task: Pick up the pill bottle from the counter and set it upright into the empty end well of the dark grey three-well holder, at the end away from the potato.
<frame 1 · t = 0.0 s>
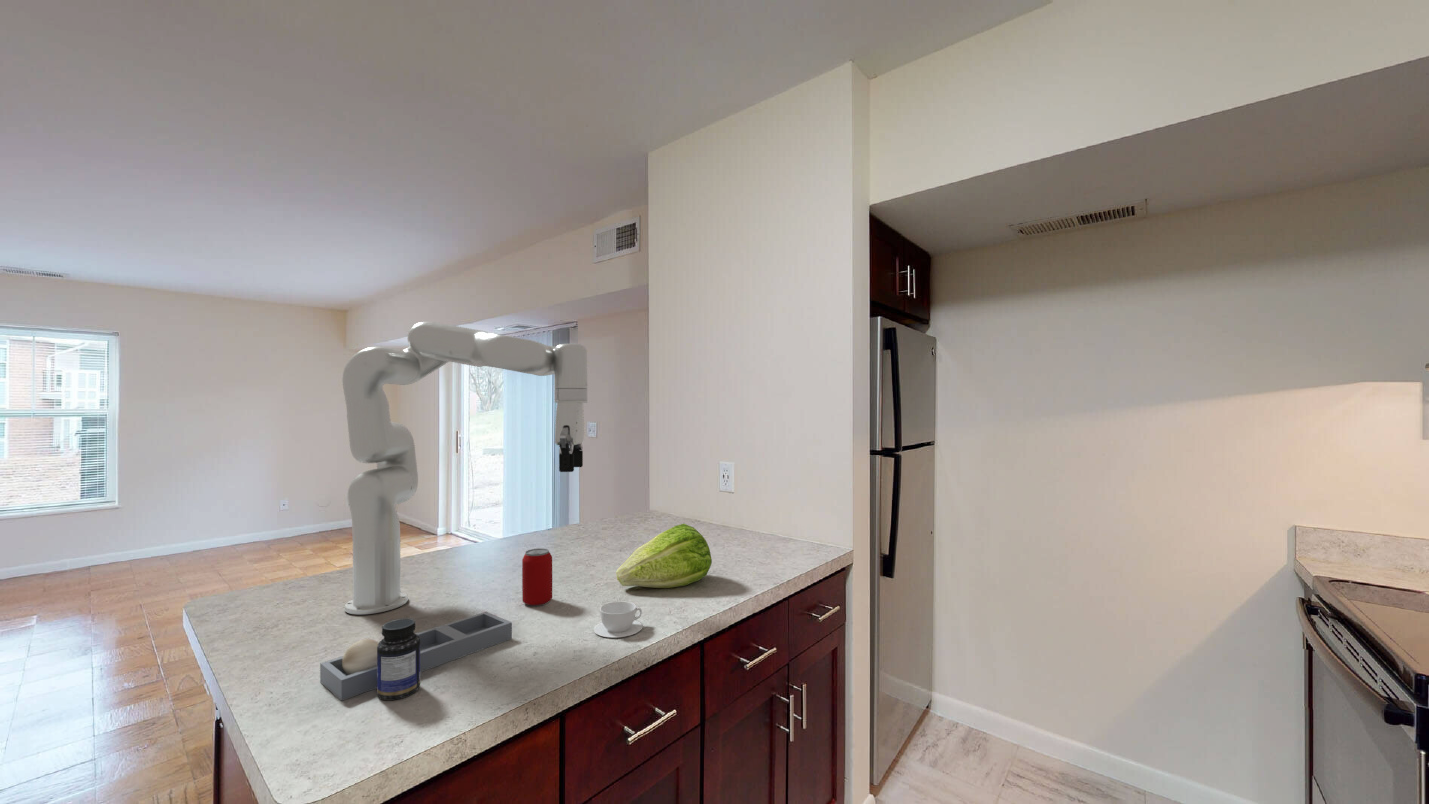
hand: (571, 469, 132), 31 cm above the worktop, fingers open, 9 cm apart
lettuce: (663, 584, 145), on the worktop
beverage can: (537, 603, 132), on the worktop
pill bottle: (399, 692, 91), on the worktop
well holder: (424, 658, 102), on the worktop
potato: (363, 658, 95), point 4 cm above the worktop, touching well holder
teacup: (618, 630, 116), on the worktop
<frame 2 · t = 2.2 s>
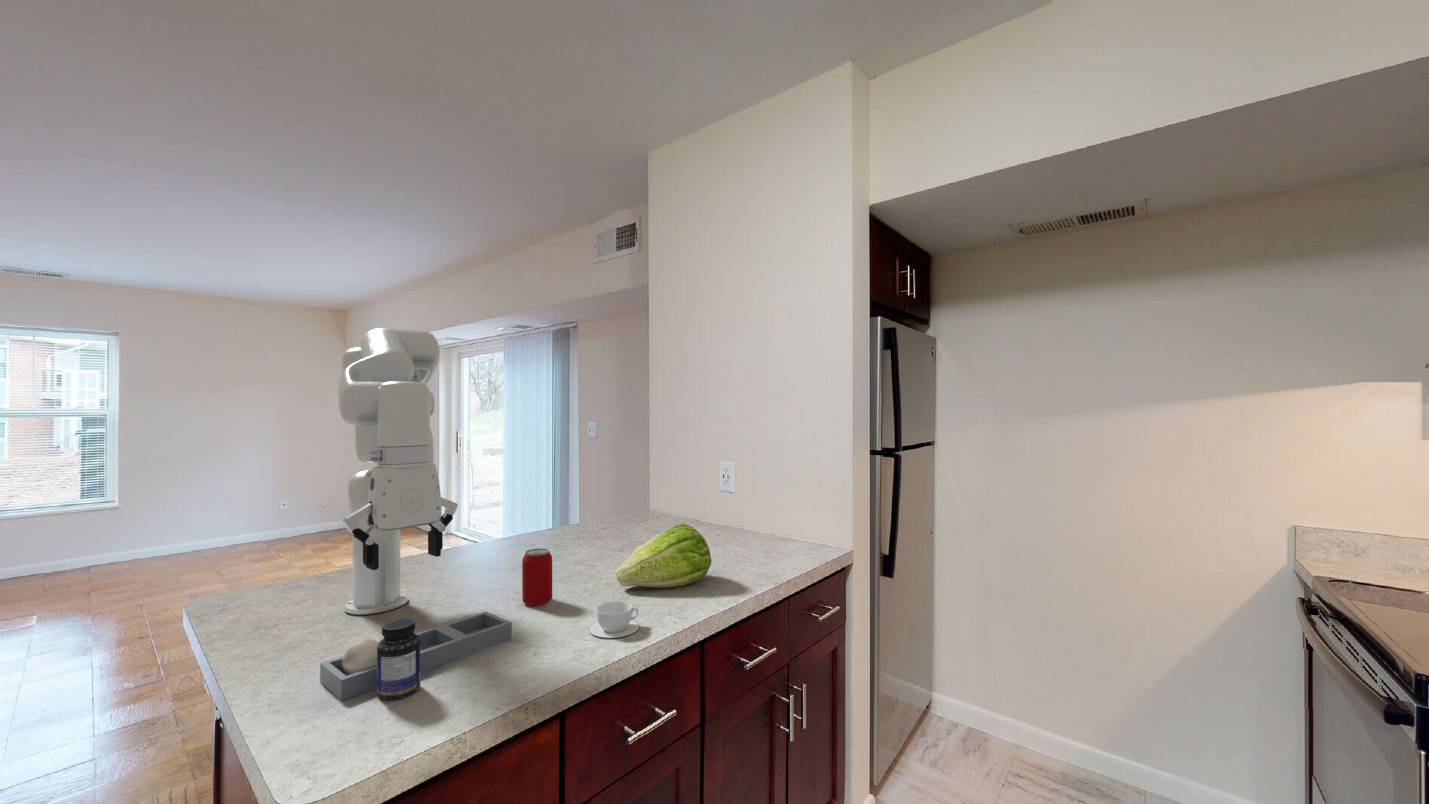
hand: (404, 561, 91), 21 cm above the worktop, fingers open, 9 cm apart
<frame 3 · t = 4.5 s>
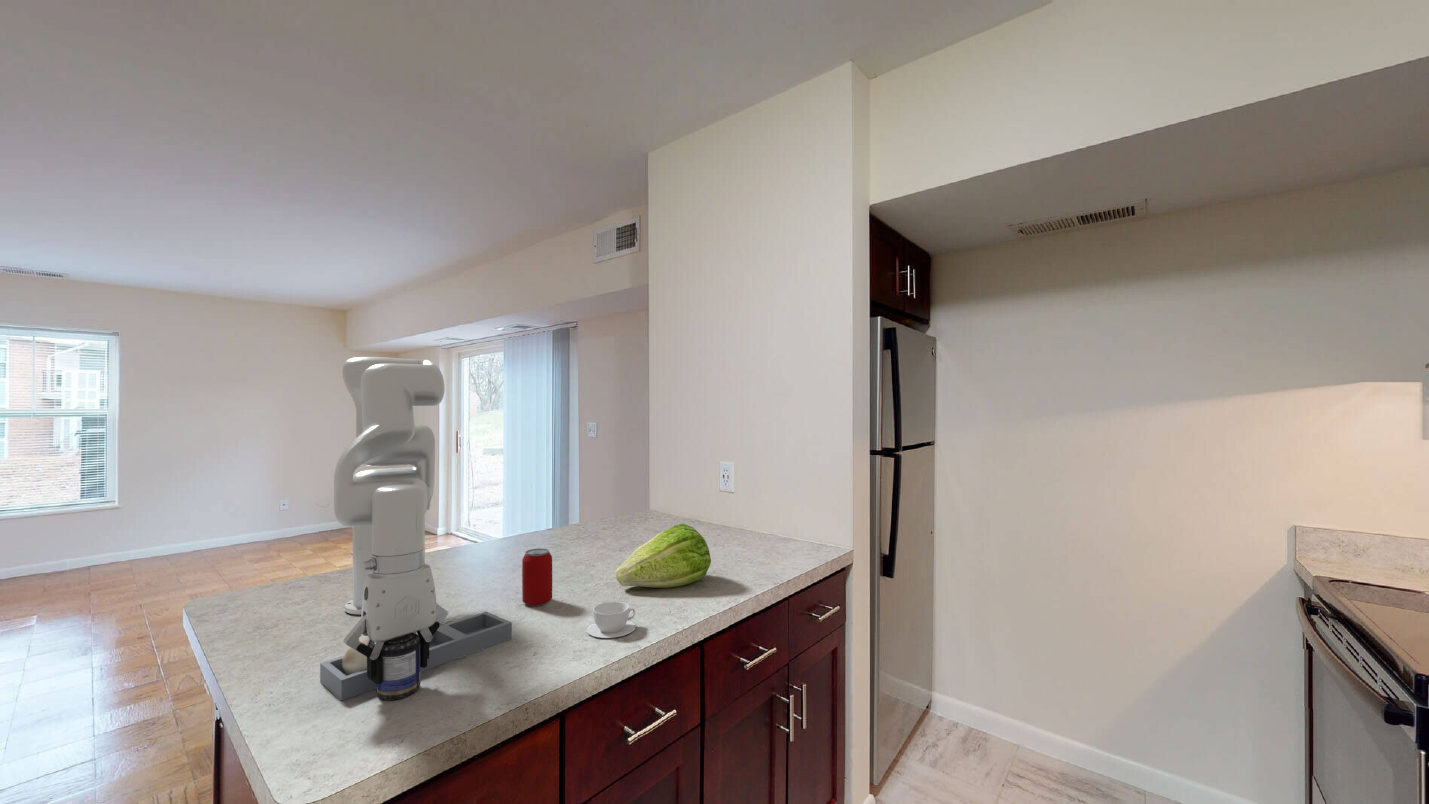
hand: (399, 672, 91), 3 cm above the worktop, fingers closed on pill bottle, 6 cm apart
pill bottle: (399, 692, 91), on the worktop, touching gripper
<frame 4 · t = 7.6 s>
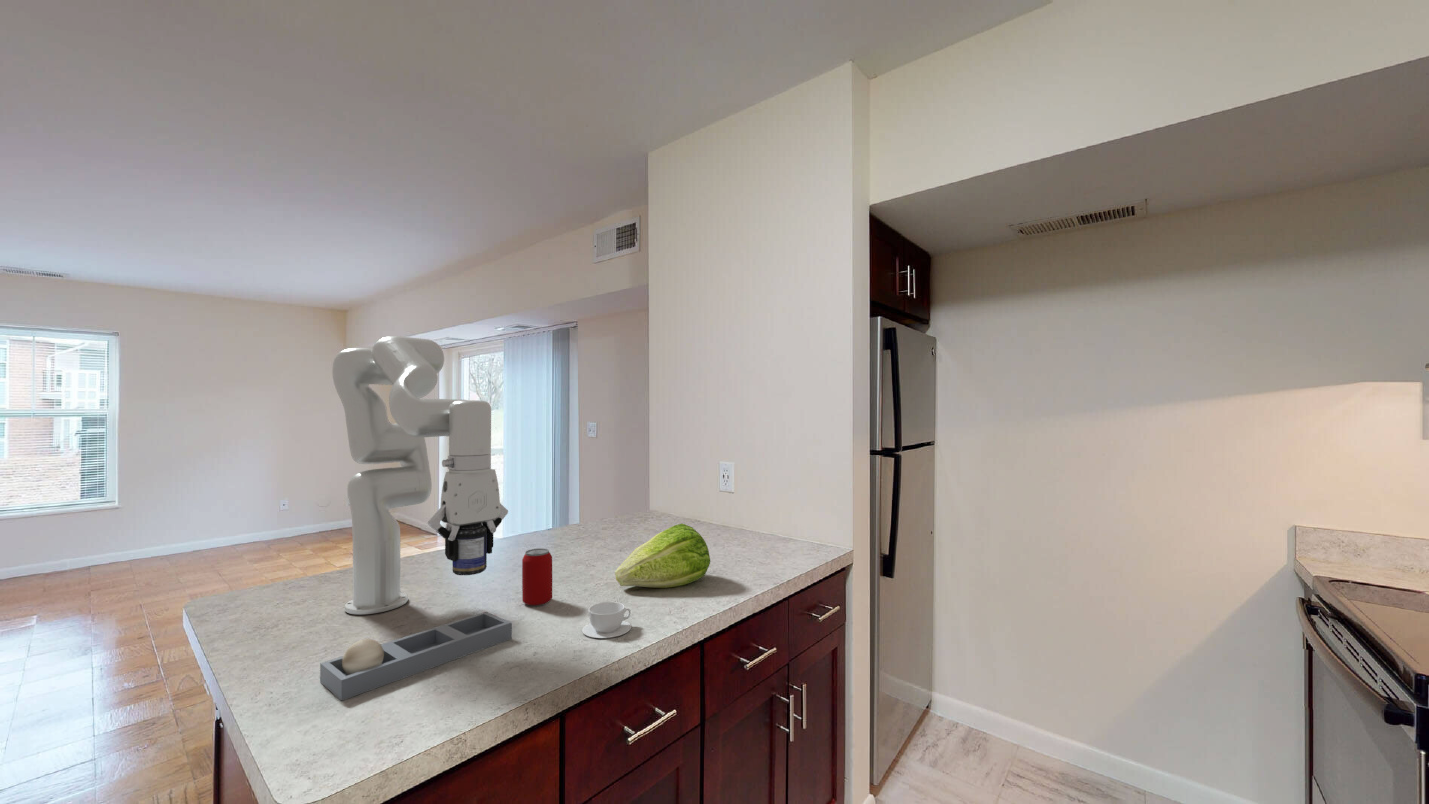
hand: (469, 555, 109), 17 cm above the worktop, fingers closed on pill bottle, 6 cm apart
pill bottle: (469, 572, 109), point 14 cm above the worktop, touching gripper
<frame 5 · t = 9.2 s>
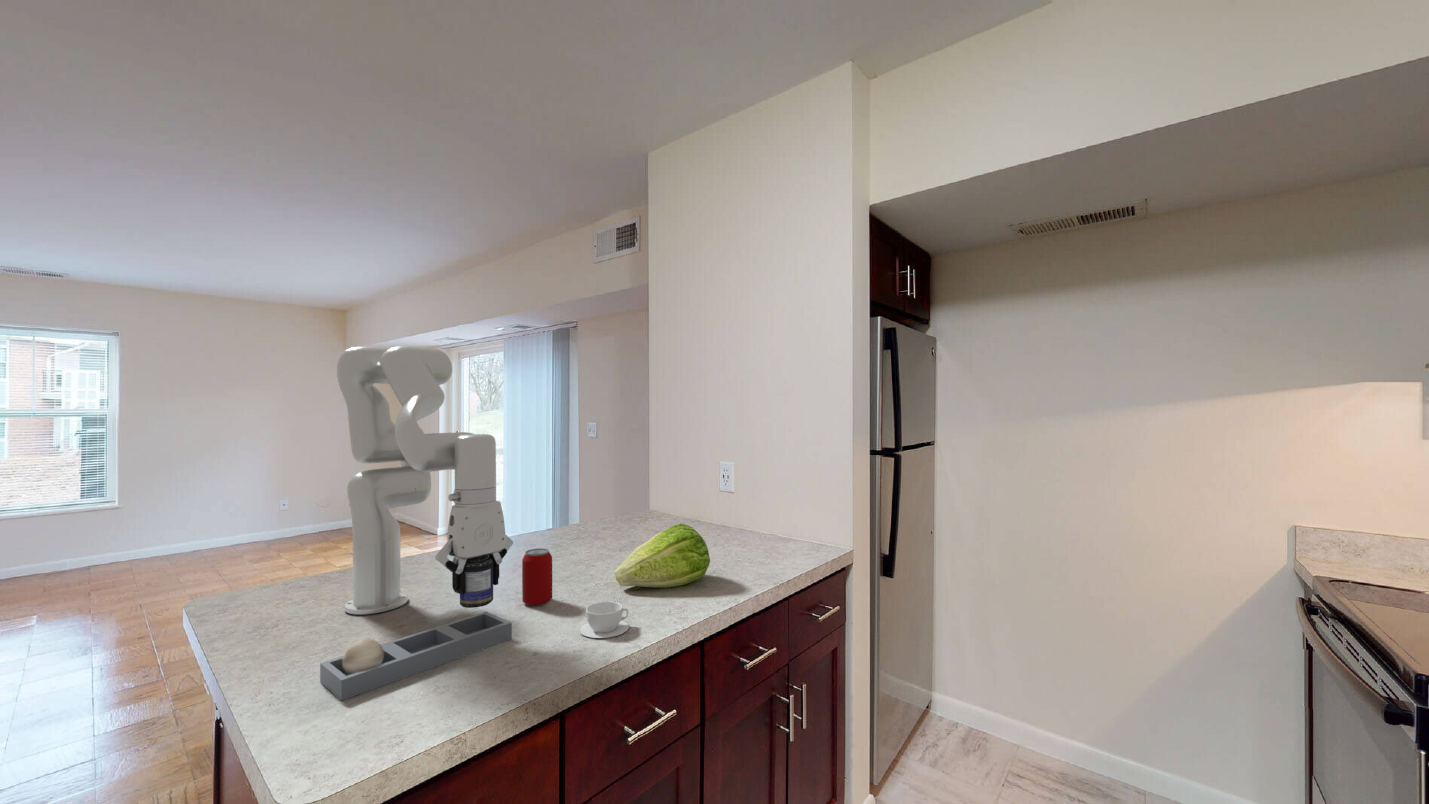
hand: (476, 587, 110), 10 cm above the worktop, fingers closed on pill bottle, 6 cm apart
pill bottle: (476, 604, 110), point 7 cm above the worktop, touching gripper
when the fingers open (5 cm above the worktop, at t = 10.7 s): pill bottle stays where it is, resting on well holder.
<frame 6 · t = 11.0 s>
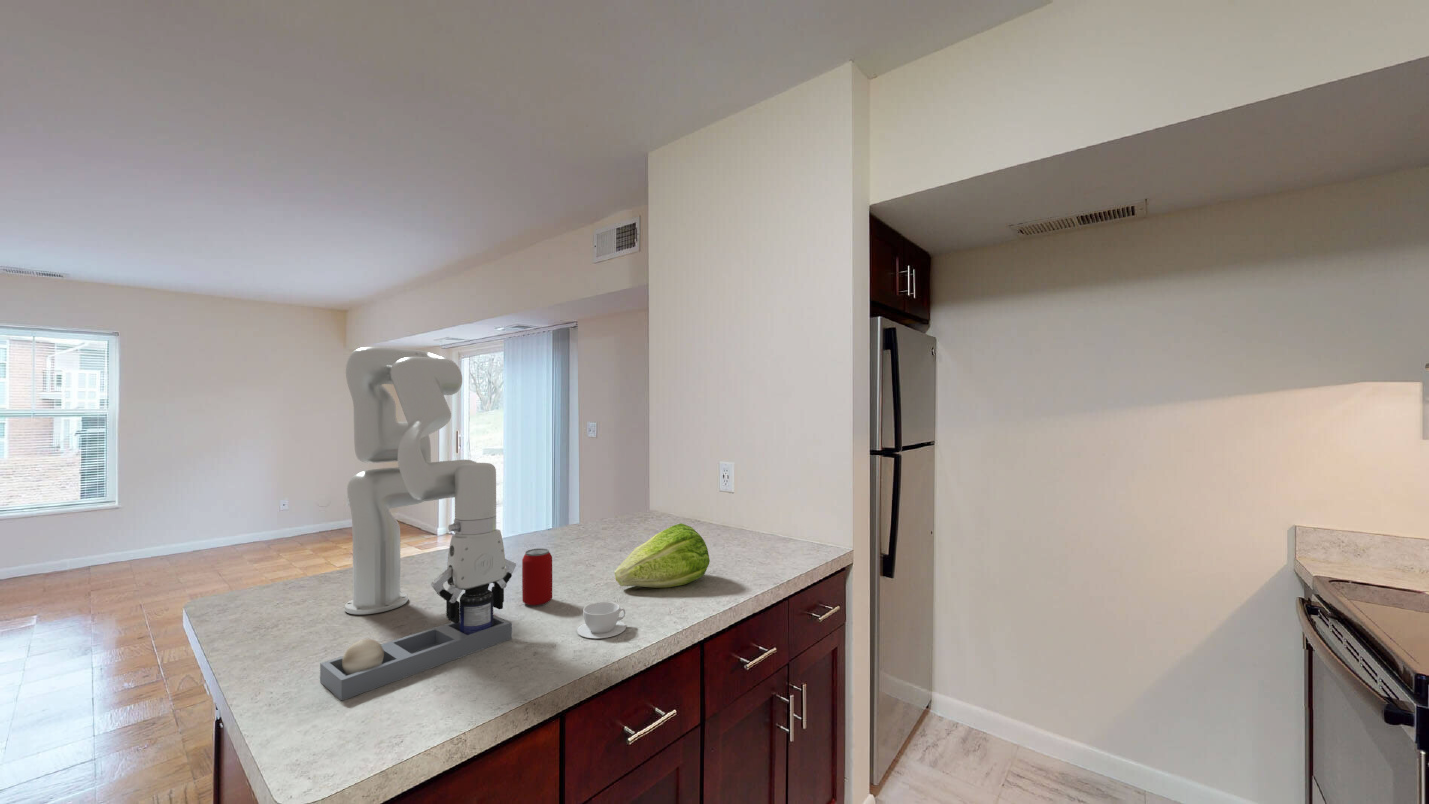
hand: (476, 614, 110), 5 cm above the worktop, fingers open, 8 cm apart
pill bottle: (476, 637, 110), resting on well holder
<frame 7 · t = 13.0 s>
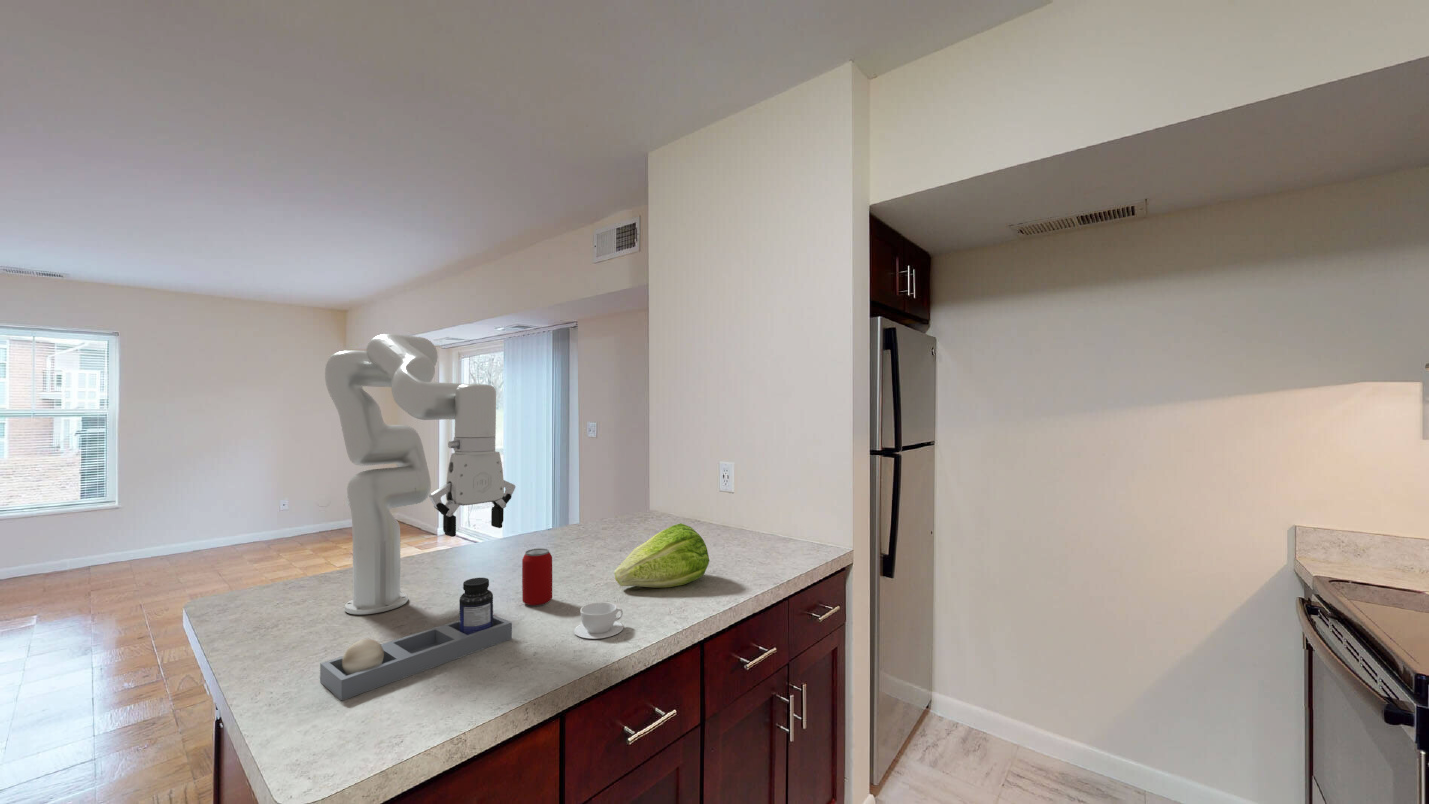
hand: (474, 531, 112), 21 cm above the worktop, fingers open, 9 cm apart
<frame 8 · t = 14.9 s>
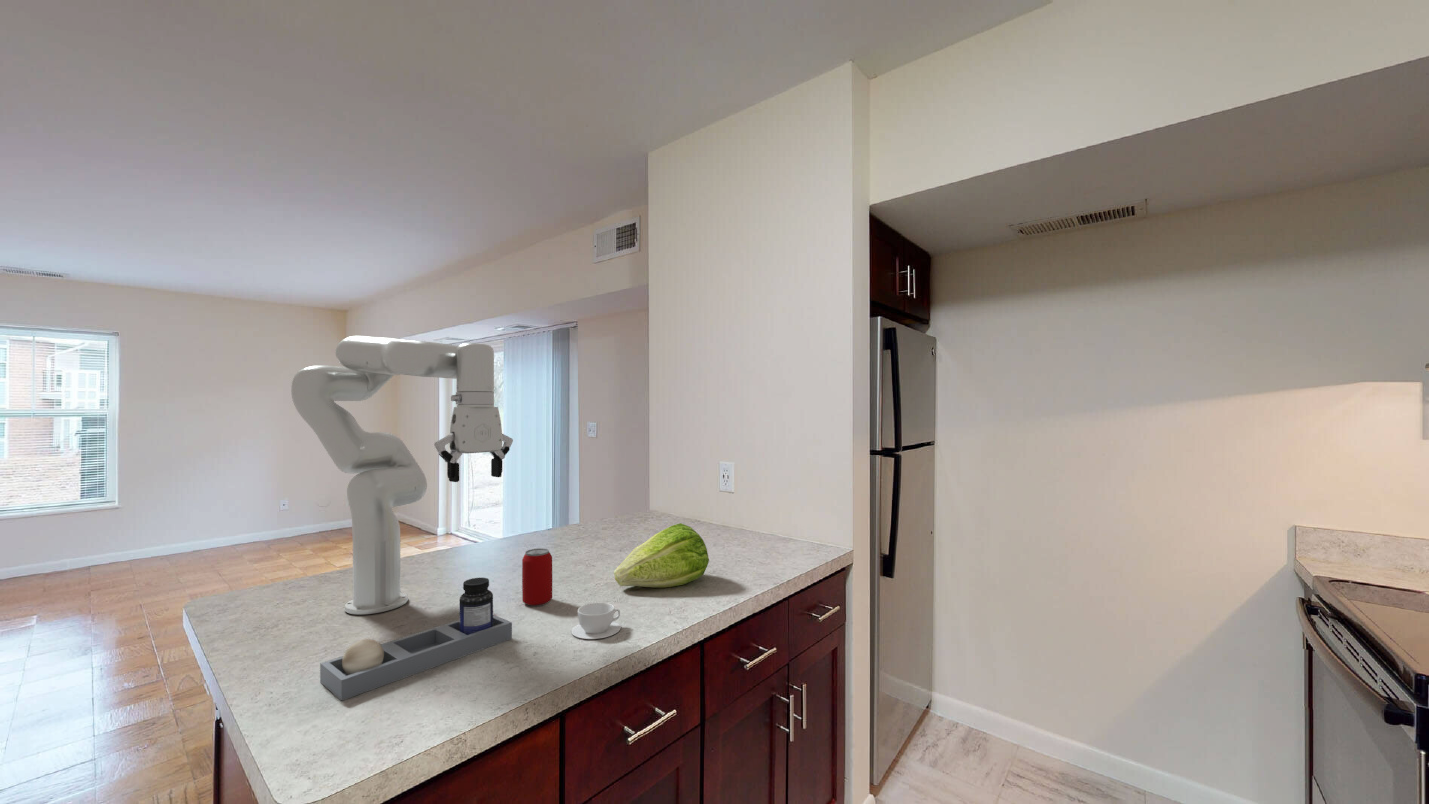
hand: (475, 479, 122), 30 cm above the worktop, fingers open, 9 cm apart
at the end: pill bottle 0.2 cm from the target spot on the well holder, point 0.4 cm above the well holder's base; pill bottle tilted 0°; the gripper is holding nothing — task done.
